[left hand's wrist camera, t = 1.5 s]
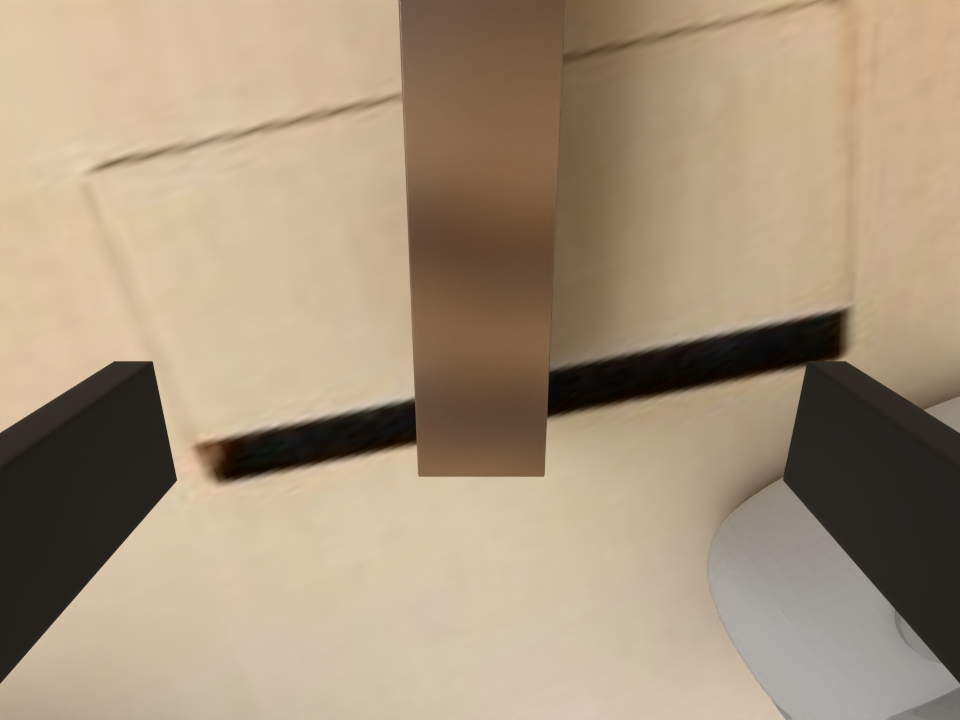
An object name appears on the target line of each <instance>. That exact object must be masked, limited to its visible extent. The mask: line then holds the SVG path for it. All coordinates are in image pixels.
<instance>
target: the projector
mask: <svg viewBox="0 0 960 720" xmlns="http://www.w3.org/2000/svg"><path fill="white" fill-rule="evenodd" d="M924 411H925V412H927V413H929V414H930V415H932V416H933V417H935V418H937V419H938V420H940V421H941V422H943V423H945V424H946V425H948V426H949V427H951V428H953V429H954V430H956V431H957V432H959V433H960V396H959V397H956V398H953V399H951V400H948V401H945V402H943V403H940V404H937V405H935V406H932V407H929V408H927V409H924ZM783 478H784V477H782V478H781V479H779V480H777V481H775V482H774V483H772V484H770V485H769V486H767V487H765V488H764V489H762V490H761V491H759V492H758V493H757V494H755V495H754V496H752V497H751V498H749V499H748V500H746V501H745V502H744V503H743V504H741V505H740V506H739V507H738V508H737V509H735V510H734V511H733V512H732V513H731V514H730V515H729V516H728V517H727V518H726V519H725V520H724V521H723V523H722V524H721V525H720V527H719V528H718V529H717V531H716V533H715V535H714V538H713V540H712V542H711V546H710V549H709V554H708V561H707V574H708V581H709V585H710V590H711V594H712V597H713V600H714V603H715V606H716V608H717V611H718V614H719V616H720V619H721V621H722V623H723V625H724V627H725V629H726V631H727V633H728V635H729V637H730V639H731V641H732V643H733V644H734V646H735V648H736V650H737V651H738V653H739V654H740V656H741V658H742V659H743V661H744V662H745V664H746V665H747V667H748V669H749V670H750V671H751V673H752V674H753V676H754V677H755V679H756V680H757V682H758V683H759V684H760V686H761V687H762V689H763V690H764V691H765V692H766V693H767V695H768V696H769V697H770V698H771V699H772V701H773V703H774V704H775V706H776V707H777V709H778V710H779V712H780V713H781V714H782V716H783V717H784V718H785V719H786V720H960V683H959V682H958V681H957V680H956V679H955V678H954V676H953V675H952V674H951V673H950V672H949V671H948V670H947V668H946V667H945V666H944V665H943V664H942V663H941V662H940V660H939V659H938V658H937V657H936V656H935V655H934V653H933V652H932V651H931V650H930V649H929V648H928V647H927V645H926V644H925V643H924V642H923V641H922V640H921V639H920V637H919V636H918V635H917V634H916V633H915V632H914V630H913V629H912V628H911V627H910V626H909V625H908V624H907V622H906V621H905V620H904V619H903V618H902V617H901V616H900V614H899V613H898V612H897V611H896V610H895V609H894V607H893V606H892V605H891V604H890V603H889V602H888V601H887V599H886V598H885V597H884V596H883V595H882V594H881V593H880V591H879V590H878V589H877V588H876V587H875V586H874V584H873V583H872V582H871V581H870V580H869V579H868V578H867V576H866V575H865V574H864V573H863V572H862V571H861V570H860V568H859V567H858V566H857V565H856V564H855V563H854V561H853V560H852V559H851V558H850V557H849V556H848V555H847V553H846V552H845V551H844V550H843V549H842V548H841V547H840V545H839V544H838V543H837V542H836V541H835V540H834V538H833V537H832V536H831V535H830V534H829V533H828V532H827V530H826V529H825V528H824V527H823V526H822V525H821V524H820V522H819V521H818V520H817V519H816V518H815V517H814V515H813V514H812V513H811V512H810V511H809V510H808V509H807V507H806V506H805V505H804V504H803V503H802V502H801V501H800V499H799V498H798V497H797V496H796V495H795V494H794V493H793V491H792V490H791V489H790V488H789V487H788V486H787V484H786V483H785V482H784V481H783Z"/></svg>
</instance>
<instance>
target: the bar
mask: <svg viewBox="0 0 960 720" xmlns="http://www.w3.org/2000/svg"><path fill="white" fill-rule="evenodd" d="M564 21H565V0H399V24H400V48H401V72H402V96H403V120H404V144H405V168H406V192H407V217H408V241H409V265H410V289H411V313H412V337H413V361H414V385H415V409H416V433H417V458H418V476H420V477H543V476H544V474H545V451H546V428H547V406H548V383H549V360H550V338H551V315H552V292H553V270H554V247H555V224H556V202H557V179H558V156H559V134H560V111H561V89H562V66H563V43H564Z"/></svg>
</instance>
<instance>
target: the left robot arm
mask: <svg viewBox="0 0 960 720" xmlns="http://www.w3.org/2000/svg"><path fill="white" fill-rule="evenodd" d="M176 481H177V478H176V473H175V468H174V463H173V458H172V453H171V448H170V444H169V439H168V434H167V429H166V424H165V419H164V414H163V410H162V405H161V400H160V395H159V390H158V385H157V381H156V376H155V371H154V366H153V361H114V362H113V363H111V364H109V365H108V366H106V367H105V368H103V369H101V370H100V371H98V372H97V373H95V374H94V375H92V376H90V377H89V378H87V379H86V380H84V381H82V382H81V383H79V384H78V385H76V386H74V387H73V388H71V389H70V390H68V391H66V392H65V393H63V394H62V395H60V396H58V397H57V398H55V399H54V400H52V401H50V402H49V403H47V404H46V405H44V406H42V407H41V408H39V409H38V410H36V411H35V412H33V413H31V414H30V415H28V416H27V417H25V418H23V419H22V420H20V421H19V422H17V423H15V424H14V425H12V426H11V427H9V428H7V429H6V430H4V431H3V432H1V433H0V683H1V682H2V681H3V680H4V679H5V678H6V676H7V675H8V674H9V673H10V672H11V671H12V670H13V668H14V667H15V666H16V665H17V664H18V663H19V662H20V660H21V659H22V658H23V657H24V656H25V655H26V653H27V652H28V651H29V650H30V649H31V648H32V647H33V645H34V644H35V643H36V642H37V641H38V640H39V639H40V637H41V636H42V635H43V634H44V633H45V632H46V630H47V629H48V628H49V627H50V626H51V625H52V624H53V622H54V621H55V620H56V619H57V618H58V617H59V616H60V614H61V613H62V612H63V611H64V610H65V609H66V607H67V606H68V605H69V604H70V603H71V602H72V601H73V599H74V598H75V597H76V596H77V595H78V594H79V593H80V591H81V590H82V589H83V588H84V587H85V586H86V584H87V583H88V582H89V581H90V580H91V579H92V578H93V576H94V575H95V574H96V573H97V572H98V571H99V570H100V568H101V567H102V566H103V565H104V564H105V563H106V561H107V560H108V559H109V558H110V557H111V556H112V555H113V553H114V552H115V551H116V550H117V549H118V548H119V547H120V545H121V544H122V543H123V542H124V541H125V540H126V538H127V537H128V536H129V535H130V534H131V533H132V532H133V530H134V529H135V528H136V527H137V526H138V525H139V524H140V522H141V521H142V520H143V519H144V518H145V517H146V515H147V514H148V513H149V512H150V511H151V510H152V509H153V507H154V506H155V505H156V504H157V503H158V502H159V501H160V499H161V498H162V497H163V496H164V495H165V494H166V493H167V491H168V490H169V489H170V488H171V487H172V486H173V484H174V483H175V482H176ZM783 481H784V482H785V483H786V484H787V486H788V487H789V488H790V489H791V490H792V491H793V493H794V494H795V495H796V496H797V497H798V498H799V499H800V501H801V502H802V503H803V504H804V505H805V506H806V507H807V509H808V510H809V511H810V512H811V513H812V514H813V515H814V517H815V518H816V519H817V520H818V521H819V522H820V524H821V525H822V526H823V527H824V528H825V529H826V530H827V532H828V533H829V534H830V535H831V536H832V537H833V538H834V540H835V541H836V542H837V543H838V544H839V545H840V547H841V548H842V549H843V550H844V551H845V552H846V553H847V555H848V556H849V557H850V558H851V559H852V560H853V561H854V563H855V564H856V565H857V566H858V567H859V568H860V570H861V571H862V572H863V573H864V574H865V575H866V576H867V578H868V579H869V580H870V581H871V582H872V583H873V584H874V586H875V587H876V588H877V589H878V590H879V591H880V593H881V594H882V595H883V596H884V597H885V598H886V599H887V601H888V602H889V603H890V604H891V605H892V606H893V607H894V609H895V610H896V611H897V612H898V613H899V614H900V616H901V617H902V618H903V619H904V620H905V621H906V622H907V624H908V625H909V626H910V627H911V628H912V629H913V630H914V632H915V633H916V634H917V635H918V636H919V637H920V639H921V640H922V641H923V642H924V643H925V644H926V645H927V647H928V648H929V649H930V650H931V651H932V652H933V653H934V655H935V656H936V657H937V658H938V659H939V660H940V662H941V663H942V664H943V665H944V666H945V667H946V668H947V670H948V671H949V672H950V673H951V674H952V675H953V676H954V678H955V679H956V680H957V681H958V682H959V683H960V433H959V432H957V431H956V430H954V429H953V428H951V427H949V426H948V425H946V424H945V423H943V422H941V421H940V420H938V419H937V418H935V417H933V416H932V415H930V414H929V413H927V412H925V411H924V410H922V409H921V408H919V407H918V406H916V405H914V404H913V403H911V402H910V401H908V400H906V399H905V398H903V397H902V396H900V395H898V394H897V393H895V392H894V391H892V390H890V389H889V388H887V387H886V386H884V385H882V384H881V383H879V382H878V381H876V380H874V379H873V378H871V377H870V376H868V375H866V374H865V373H863V372H862V371H860V370H859V369H857V368H855V367H854V366H852V365H851V364H849V363H847V362H846V361H807V366H806V371H805V376H804V381H803V385H802V390H801V395H800V400H799V405H798V410H797V414H796V419H795V424H794V429H793V434H792V439H791V444H790V448H789V453H788V458H787V463H786V468H785V473H784V478H783Z"/></svg>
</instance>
